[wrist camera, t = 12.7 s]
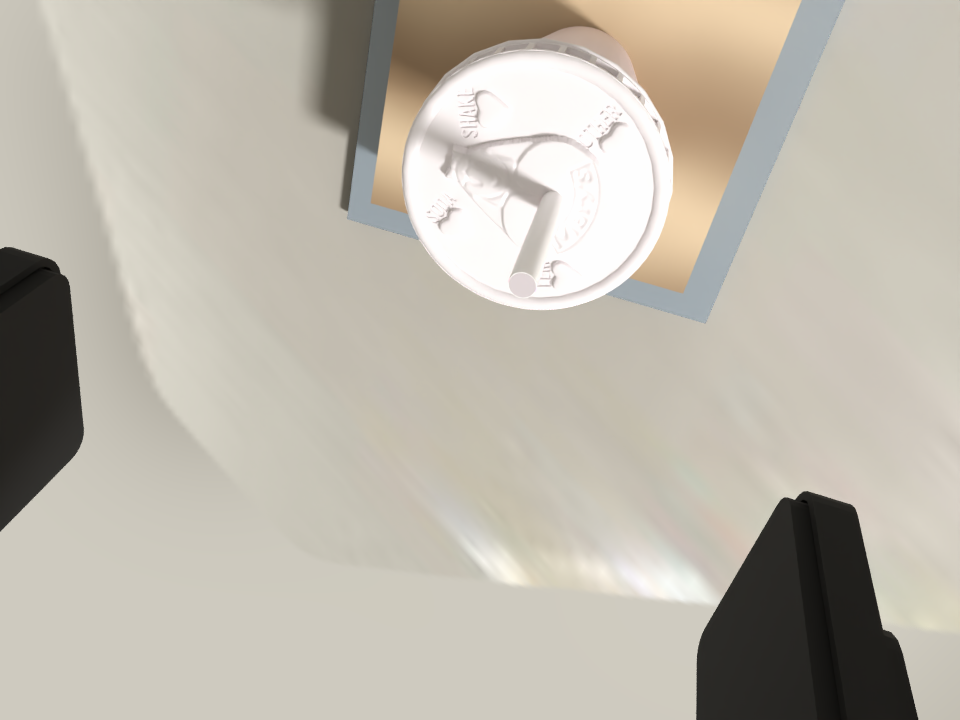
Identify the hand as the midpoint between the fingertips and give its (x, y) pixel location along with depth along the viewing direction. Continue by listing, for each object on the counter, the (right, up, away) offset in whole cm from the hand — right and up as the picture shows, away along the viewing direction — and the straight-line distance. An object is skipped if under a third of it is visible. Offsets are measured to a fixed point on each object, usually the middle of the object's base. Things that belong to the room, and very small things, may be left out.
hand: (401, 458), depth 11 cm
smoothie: (+4, +10, +17) cm, 20 cm away
